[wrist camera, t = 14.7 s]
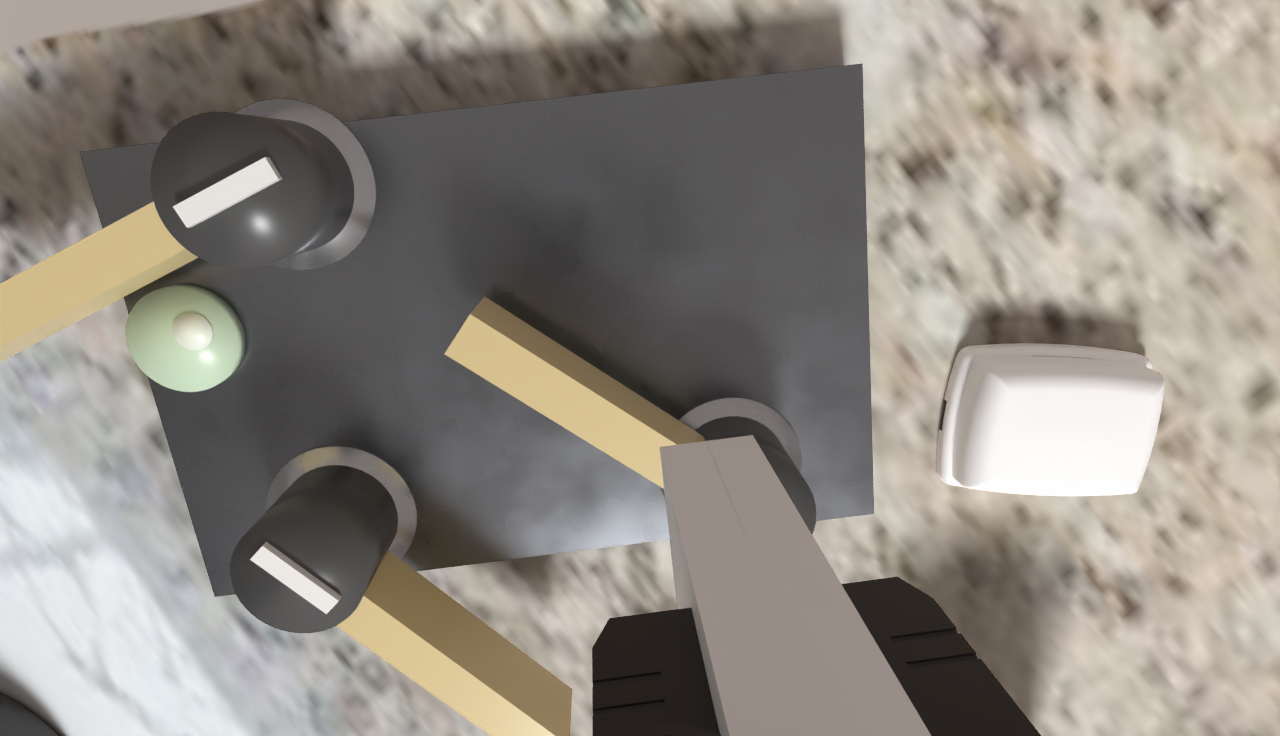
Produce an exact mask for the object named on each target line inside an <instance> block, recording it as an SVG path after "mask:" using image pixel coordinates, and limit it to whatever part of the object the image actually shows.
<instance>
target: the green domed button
mask: <svg viewBox="0 0 1280 736" xmlns="http://www.w3.org/2000/svg"><path fill="white" fill-rule="evenodd" d="M126 340H127V345H128V348H129V351H130V353H131V355H132V357H133V359H134V361H135V362H136V364H137V365H138V367H139V368H140V369H141V370H142V371H143V372H144V373H145V374H146V375H147V376H148V377H150V378H151V379H152V380H154V381H155V382H157V383H159V384H160V385H162V386H165V387H167V388H170V389H173V390H177V391H182V392H198V391H203V390H207V389H210V388H212V387H214V386H216V385H218V384H220V383H221V382H223V381H225V380H226V379H228V378H229V377H230V376H231V375H232V374H233V373H234V372H235V371H236V370H237V369H238V367H239V366H240V364H241V362H242V359H243V357H244V353H245V345H246V342H245V334H244V329H243V326H242V324H241V322H240V319H239V317H238V316H237V314H236V313H235V311H234V310H233V309H232V308H231V306H230V305H229V304H228V303H227V302H226V301H225V300H223V299H222V298H221V297H219V296H218V295H216V294H215V293H213V292H211V291H209V290H207V289H204V288H201V287H198V286H193V285H173V286H168V287H165V288H161V289H158V290H155V291H152V292H150V293H148V294H147V295H145V296H144V297H142V298H141V299H140V300H139V301H138V302H137V303H136V304H135V306H134V307H133V308H132V310H131V312H130V314H129V317H128V320H127V324H126Z"/></svg>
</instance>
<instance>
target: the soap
mask: <svg viewBox="0 0 1280 736" xmlns="http://www.w3.org/2000/svg"><path fill="white" fill-rule="evenodd" d="M1088 358H1089V359H1088ZM1164 385H1165V379H1164V377H1163V375H1162V374H1161V373H1159V372H1157V371H1154V370H1152V363H1151V361H1150V360H1149V359H1148V358H1147V357H1145V356H1143V355H1140V354H1137V353H1133V352H1126V351H1120V350H1114V349H1106V348H1098V347H1090V346H1078V345H1065V344H1040V343H1014V344H988V345H973V346H966V347H964V348H962V349H961V350H960V351H959V352H958V354H957V356H956V359H955V362H954V365H953V368H952V371H951V374H950V378H949V381H948V385H947V389H946V393H945V397H944V399H945V400H946V401H947V404H946V409H945V414H944V420H943V426H942V430H939V432H938V442H937V457H936V472H937V475H938V477H939V478H940V479H941V480H942V481H943V482H945V483H946V484H949V485H953V486H960V487H966V488H969V489H977V490H984V491H992V492H1002V493H1012V494H1025V495H1043V496H1100V495H1119V494H1133V493H1135V492H1137V490H1138V488H1139V485H1140V483H1141V480H1142V478H1143V475H1144V472H1145V469H1146V467H1147V464H1148V461H1149V458H1150V454H1151V451H1152V448H1153V444H1154V440H1155V436H1156V432H1157V428H1158V423H1159V418H1160V414H1161V407H1162V401H1163V394H1164Z"/></svg>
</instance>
